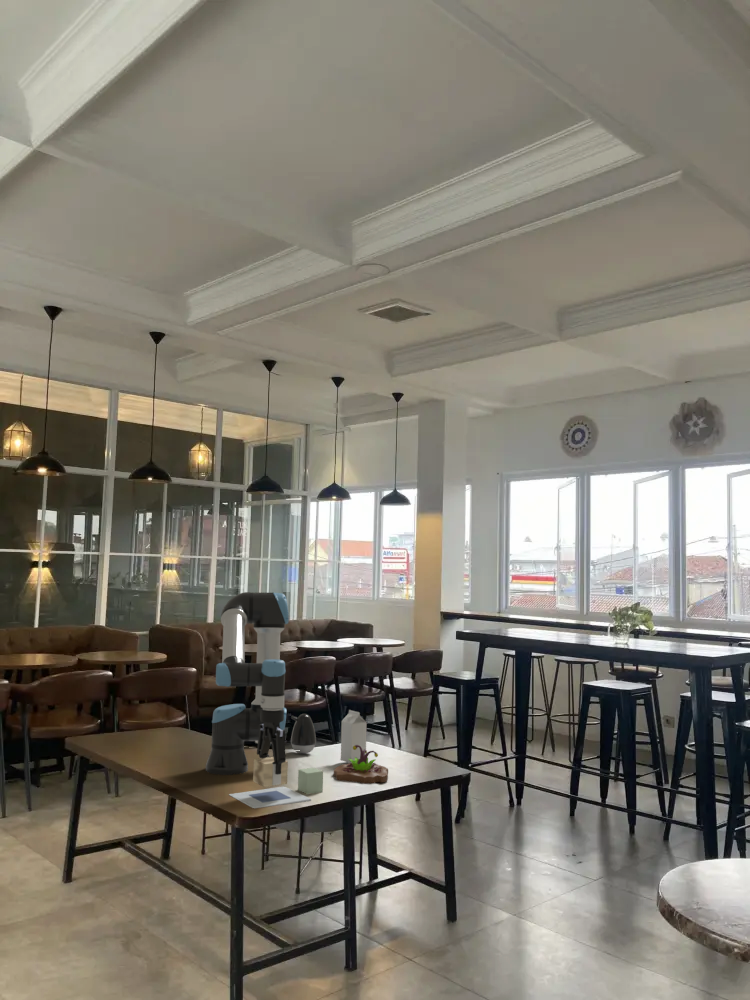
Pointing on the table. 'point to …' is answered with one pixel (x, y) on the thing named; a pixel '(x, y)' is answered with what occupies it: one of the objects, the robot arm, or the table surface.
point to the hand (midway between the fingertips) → (270, 781)
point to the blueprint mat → (270, 797)
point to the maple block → (268, 772)
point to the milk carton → (352, 736)
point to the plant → (362, 769)
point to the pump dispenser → (303, 734)
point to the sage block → (310, 780)
